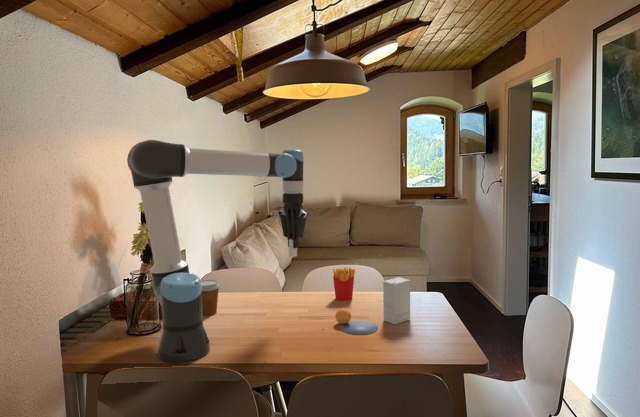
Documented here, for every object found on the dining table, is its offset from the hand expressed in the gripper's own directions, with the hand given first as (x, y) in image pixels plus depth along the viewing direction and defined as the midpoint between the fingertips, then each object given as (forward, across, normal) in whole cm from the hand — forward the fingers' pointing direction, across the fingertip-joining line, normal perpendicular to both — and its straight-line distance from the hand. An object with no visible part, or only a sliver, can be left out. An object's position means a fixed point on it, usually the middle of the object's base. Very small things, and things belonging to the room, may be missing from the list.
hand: (293, 256), depth 169 cm
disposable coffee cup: (+23, +29, +17) cm, 41 cm away
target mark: (+22, -26, -5) cm, 35 cm away
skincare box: (+22, -33, -19) cm, 44 cm away
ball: (+20, -20, -4) cm, 28 cm away
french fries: (+22, -2, -29) cm, 36 cm away
